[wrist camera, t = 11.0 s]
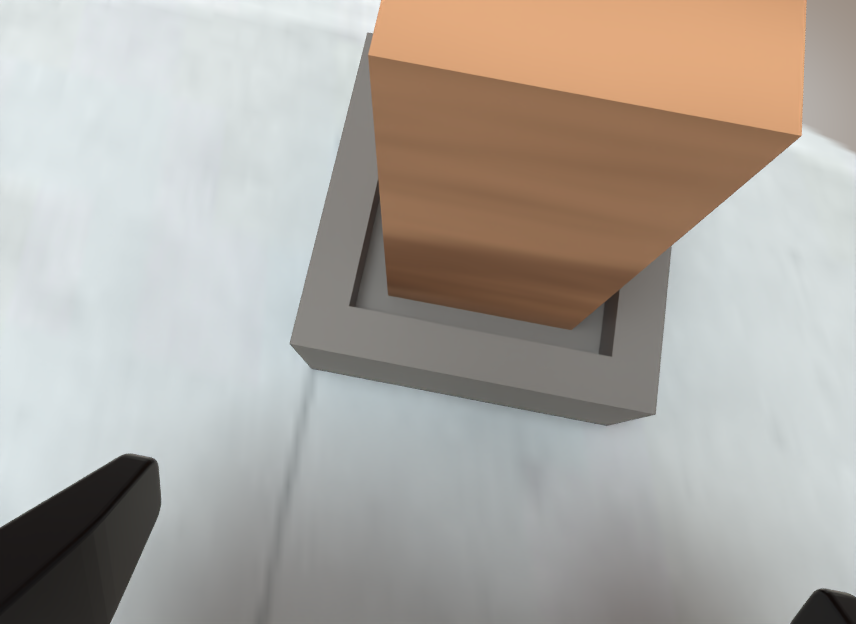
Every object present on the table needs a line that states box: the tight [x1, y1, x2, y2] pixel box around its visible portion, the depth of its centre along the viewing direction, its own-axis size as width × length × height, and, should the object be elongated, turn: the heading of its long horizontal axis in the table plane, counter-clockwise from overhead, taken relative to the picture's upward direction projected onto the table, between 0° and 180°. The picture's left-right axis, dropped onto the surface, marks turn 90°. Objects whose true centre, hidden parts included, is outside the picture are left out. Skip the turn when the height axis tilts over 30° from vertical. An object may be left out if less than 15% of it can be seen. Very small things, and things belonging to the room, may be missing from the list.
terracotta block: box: [368, 0, 806, 330], centre depth 13 cm, size 5×5×10 cm
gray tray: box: [290, 33, 671, 426], centre depth 18 cm, size 9×9×4 cm
